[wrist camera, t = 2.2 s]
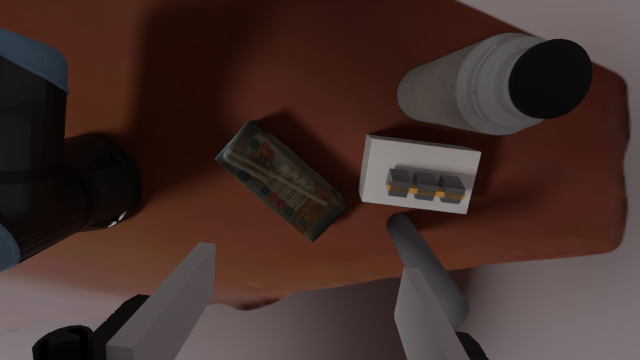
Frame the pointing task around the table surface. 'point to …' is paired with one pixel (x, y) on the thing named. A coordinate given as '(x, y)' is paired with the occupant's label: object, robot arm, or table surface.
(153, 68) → the table surface
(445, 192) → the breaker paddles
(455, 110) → the thermos bottle
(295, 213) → the beverage carton
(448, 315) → the post
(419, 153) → the breaker box
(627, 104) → the table surface
